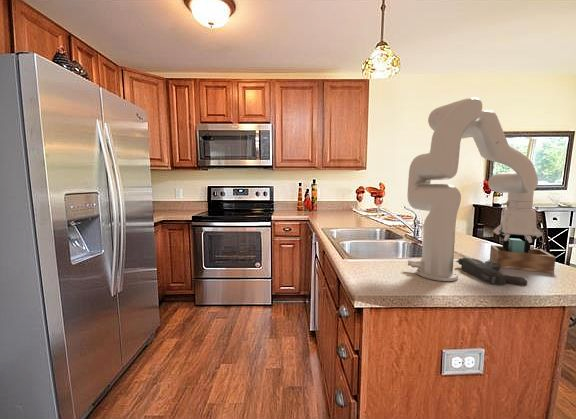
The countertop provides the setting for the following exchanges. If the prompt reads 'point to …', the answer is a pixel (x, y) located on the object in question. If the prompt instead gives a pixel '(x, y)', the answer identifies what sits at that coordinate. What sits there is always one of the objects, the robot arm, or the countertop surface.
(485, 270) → the toy gun
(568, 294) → the countertop surface
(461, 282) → the countertop surface
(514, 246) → the teal upright block
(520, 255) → the open wooden box
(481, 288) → the countertop surface
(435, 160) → the robot arm
